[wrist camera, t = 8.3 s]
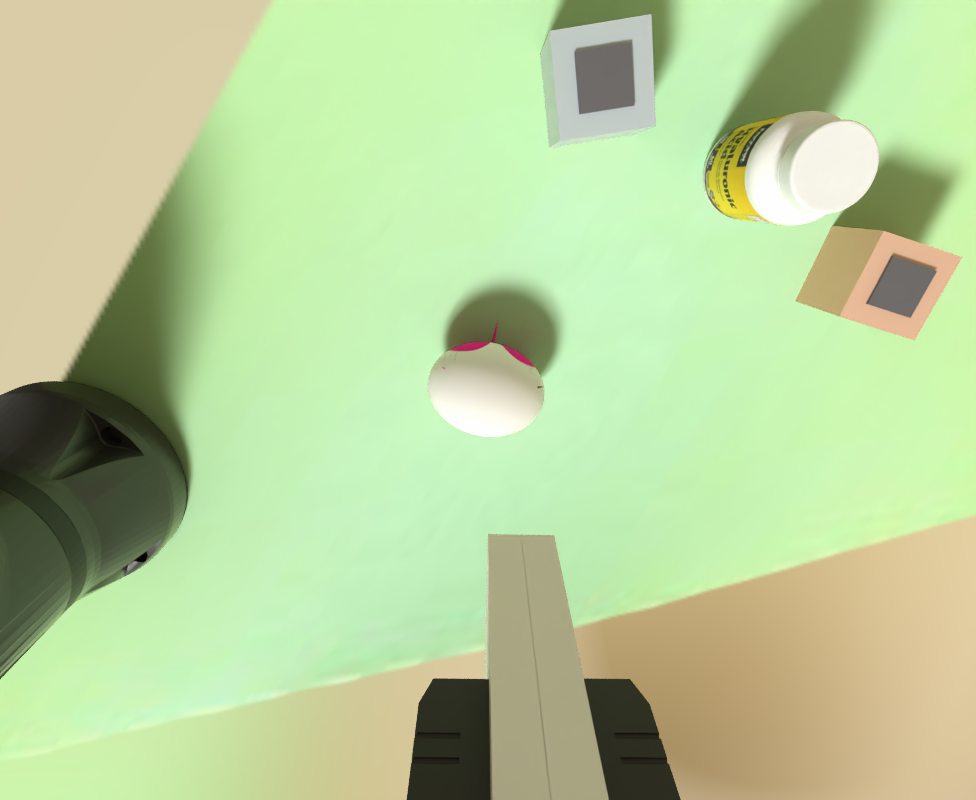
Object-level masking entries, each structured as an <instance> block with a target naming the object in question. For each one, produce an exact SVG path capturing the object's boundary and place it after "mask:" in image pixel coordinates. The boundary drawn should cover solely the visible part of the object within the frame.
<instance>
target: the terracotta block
mask: <svg viewBox="0 0 976 800" xmlns="http://www.w3.org/2000/svg"><path fill="white" fill-rule="evenodd" d="M961 258H962V257H960V256H957V255H954V254H951V253H948V252H945V251H942V250H939V249H936V248H933V247H930V246H927V245H925V244H922V243H919V242H916V241H913V240H910V239H907V238H904V237H901V236H898V235H895V234H892V233H889V232H886V231H882V230H871V229H861V228H851V227H840V226H832V227H831V229H830V232H829V234H828V236H827V238H826V240H825V242H824V244H823V246H822V248H821V250H820V252H819V254H818V256H817V258H816V260H815V262H814V264H813V266H812V268H811V270H810V272H809V274H808V276H807V278H806V281H805V283H804V285H803V287H802V289H801V291H800V293H799V295H798V297H797V299H796V301H797V302H800V303H803V304H806V305H808V306H811V307H814V308H817V309H820V310H823V311H826V312H829V313H831V314H834V315H837V316H840V317H843V318H846V319H850V320H853V321H856V322H859V323H862V324H865V325H868V326H872V327H875V328H878V329H881V330H884V331H887V332H890V333H894V334H897V335H900V336H903V337H906V338H909V339H912V340H915V339H916V337H917V335H918V333H919V332H920V330H921V328H922V326H923V325H924V323H925V321H926V319H927V318H928V316H929V314H930V312H931V311H932V309H933V307H934V305H935V304H936V302H937V300H938V299H939V297H940V295H941V293H942V292H943V290H944V288H945V286H946V285H947V283H948V281H949V279H950V278H951V276H952V274H953V272H954V271H955V269H956V267H957V265H958V264H959V262H960V260H961Z"/></svg>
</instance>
